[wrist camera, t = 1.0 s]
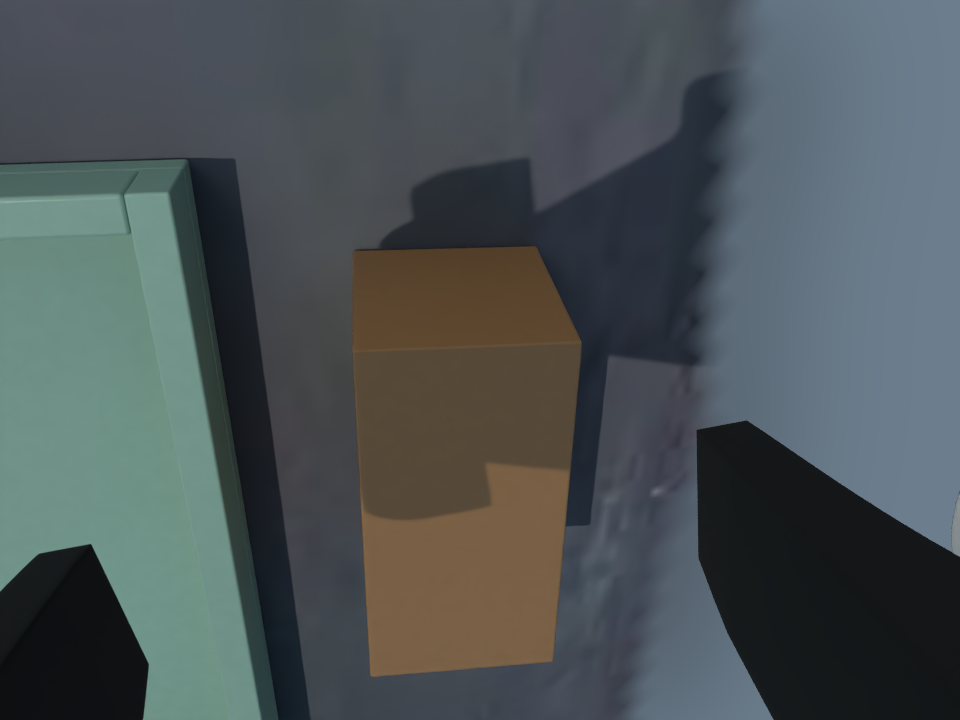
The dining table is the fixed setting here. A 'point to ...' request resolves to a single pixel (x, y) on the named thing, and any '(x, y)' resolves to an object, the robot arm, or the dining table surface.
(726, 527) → the robot arm
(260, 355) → the dining table surface
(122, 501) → the tray
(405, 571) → the block
